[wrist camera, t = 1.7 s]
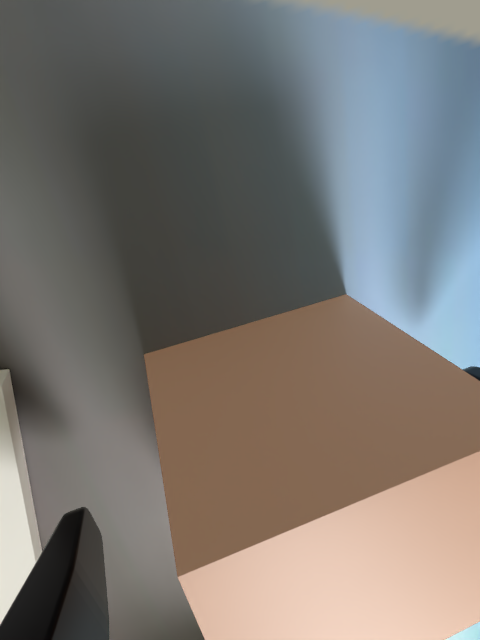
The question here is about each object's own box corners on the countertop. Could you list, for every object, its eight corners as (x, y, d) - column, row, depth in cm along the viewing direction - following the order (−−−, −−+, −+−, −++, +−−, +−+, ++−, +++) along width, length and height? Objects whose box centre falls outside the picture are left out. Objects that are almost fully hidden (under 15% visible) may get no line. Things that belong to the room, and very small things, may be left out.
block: (344, 293, 9) (545, 423, 5) (350, 439, 12) (491, 615, 7) (143, 352, 8) (177, 576, 4) (193, 499, 11) (249, 741, 6)
